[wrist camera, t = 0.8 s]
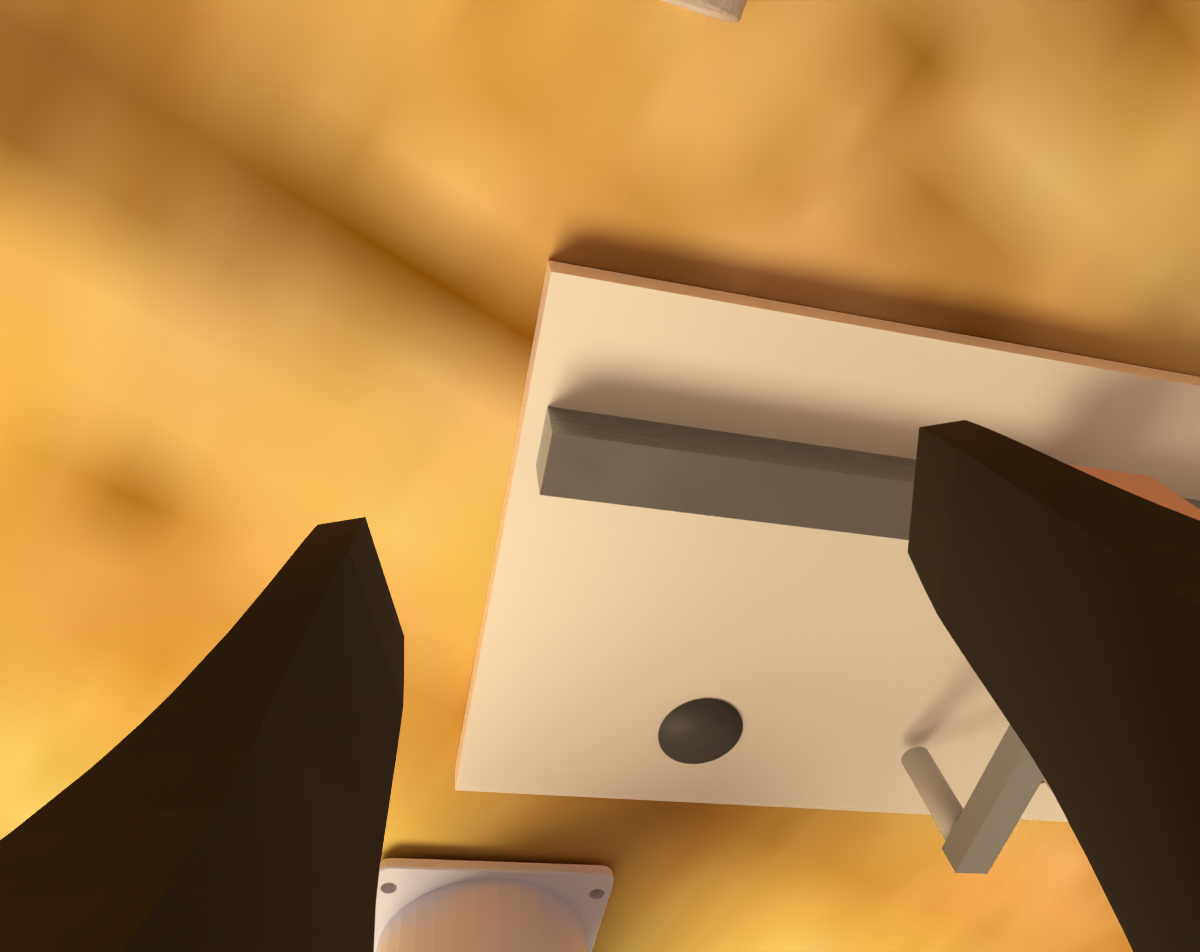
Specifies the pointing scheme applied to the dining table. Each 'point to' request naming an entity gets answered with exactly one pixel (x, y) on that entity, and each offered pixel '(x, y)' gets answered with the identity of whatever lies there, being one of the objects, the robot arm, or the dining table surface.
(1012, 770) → the leg
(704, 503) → the bar
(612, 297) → the hole plate
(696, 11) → the wrench
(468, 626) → the dining table surface
